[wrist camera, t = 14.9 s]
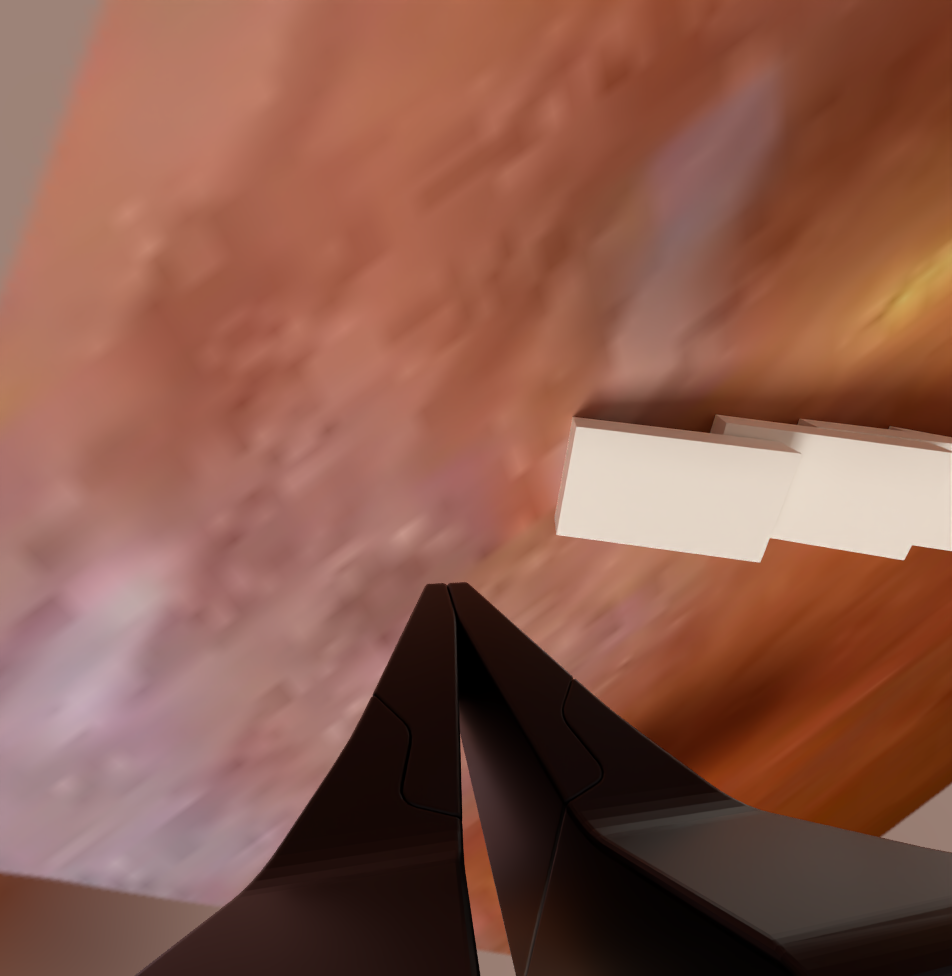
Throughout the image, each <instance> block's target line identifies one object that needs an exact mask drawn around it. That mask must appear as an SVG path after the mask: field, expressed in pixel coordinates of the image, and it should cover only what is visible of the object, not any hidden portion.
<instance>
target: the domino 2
mask: <svg viewBox="0 0 952 976" xmlns="http://www.w3.org/2000/svg"><path fill="white" fill-rule="evenodd" d="M710 433H713V434H721V435H729V436H738V437H746V438H754V439H763V440H771V441H779V442H781V443H783V444H785V445H787V446H789V447H790V448H792V449H794V450H796V451H798V452H800V453H801V454H802V456H801V458H800V461H799V464H798V466H797V469H796V471H795V474H794V477H793V479H792V482H791V484H790V487H789V489H788V492H787V495H786V497H785V500H784V502H783V505H782V508H781V510H780V513H779V515H778V518H777V520H776V523H775V526H774V528H773V531H772V533H771V536H770V538H774V539H780V540H786V541H792V542H798V543H804V544H810V545H816V546H822V547H828V548H834V549H840V550H846V551H852V552H858V553H863V554H869V555H875V556H881V557H887V558H893V559H899V560H904V559H905V557H906V555H907V553H908V552H909V550H910V548H911V546H912V544H913V542H914V540H915V538H916V536H917V534H918V532H919V531H920V529H921V527H922V525H923V523H924V521H925V519H926V517H927V515H928V513H929V511H930V509H931V508H932V506H933V504H934V502H935V500H936V498H937V496H938V494H939V492H940V490H941V488H942V486H943V485H944V483H945V481H946V479H947V477H948V475H949V473H950V471H951V469H952V451H950V450H948V449H945V448H942V447H940V446H937V445H934V444H932V443H929V442H922V441H915V440H907V439H899V438H892V437H884V436H877V435H869V434H861V433H854V432H846V431H839V430H831V429H823V428H816V427H808V426H801V425H793V424H785V423H778V422H770V421H763V420H755V419H747V418H740V417H732V416H724V415H717V414H716V415H715V418H714V421H713V425H712V428H711V431H710Z"/></svg>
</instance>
